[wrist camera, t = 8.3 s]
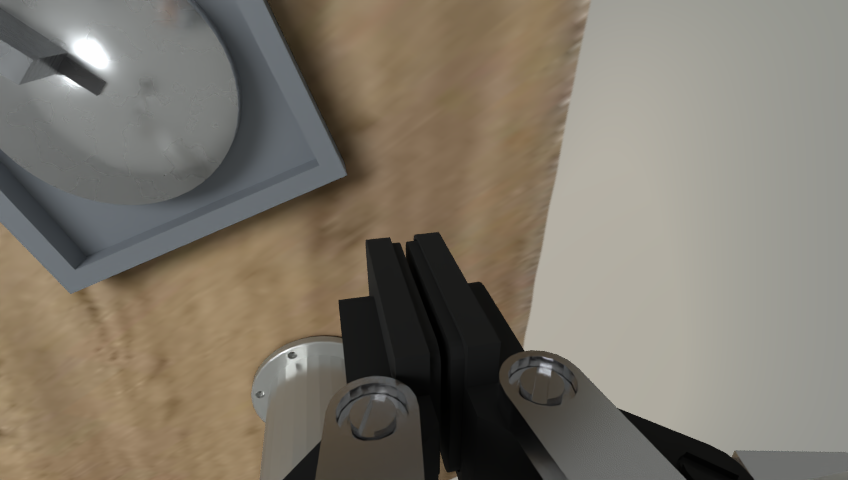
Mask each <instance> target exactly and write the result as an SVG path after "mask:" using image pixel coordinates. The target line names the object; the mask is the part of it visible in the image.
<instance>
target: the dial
mask: <svg viewBox="0 0 848 480" xmlns="http://www.w3.org/2000/svg"><path fill="white" fill-rule="evenodd" d="M241 108H242V97H241V86H240V80H239V75H238V72H237V68H236V65H235V62H234V59H233V57H232V55H231V52H230V50H229V48H228V45H227V44H226V42H225V40H224V38H223V37H222V35H221V33H220V32H219V30H218V29H217V27H216V26H215V24H214V23H213V22H212V20H211V19H210V18H209V16H208V15H207V14H206V13H205V12H204V11H203V10H202V9H201V7H200V6H199V5H198V4H197V3H196V2H195V1H194V0H0V149H1V150H2V151H3V152H4V153H5V154H7V155H8V156H9V157H10V158H11V159H12V160H13V161H15V162H16V163H17V164H18V165H20V166H21V167H22V168H24V169H25V170H27V171H28V172H29V173H31V174H32V175H34V176H36V177H37V178H39V179H41V180H43V181H44V182H46V183H48V184H50V185H52V186H54V187H56V188H58V189H60V190H63V191H65V192H67V193H70V194H73V195H76V196H79V197H82V198H85V199H89V200H93V201H97V202H103V203H110V204H118V205H141V204H151V203H156V202H161V201H165V200H169V199H172V198H175V197H178V196H180V195H182V194H184V193H186V192H188V191H190V190H192V189H193V188H195V187H197V186H198V185H200V184H201V183H202V182H204V181H205V180H206V179H207V178H208V177H209V176H210V175H212V174H213V172H214V171H215V170H216V169H217V168H218V166H219V165H220V164H221V162H222V161H223V159H224V158H225V156H226V154H227V153H228V151H229V149H230V147H231V145H232V143H233V141H234V138H235V136H236V134H237V131H238V127H239V123H240V118H241Z"/></svg>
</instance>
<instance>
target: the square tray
mask: <svg viewBox="0 0 848 480" xmlns="http://www.w3.org/2000/svg"><path fill="white" fill-rule="evenodd" d="M194 1H195V2H196V3H197V4H198V5H199V6H200V7H201V9H202V10H203V11H204V12H205V13H206V14H207V15H208V16H209V18H210V19H211V20H212V22H213V23H214V24H215V26H216V27H217V29H218V30H219V32H220V33H221V35H222V37H223V38H224V40H225V42H226V44H227V45H228V48H229V50H230V52H231V55H232V57H233V59H234V62H235V65H236V68H237V72H238V75H239V80H240V86H241V97H242V108H241V118H240V123H239V127H238V131H237V134H236V136H235V138H234V141H233V143H232V145H231V147H230V149H229V151H228V153H227V154H226V156H225V158H224V159H223V161H222V162H221V164H220V165H219V166H218V168H217V169H216V170H215V171H214V172H213V174H212V175H210V176H209V177H208V178H207V179H206V180H205V181H204V182H202V183H201V184H200V185H198V186H197V187H195V188H193V189H192V190H190V191H188V192H186V193H184V194H182V195H180V196H178V197H175V198H172V199H169V200H165V201H161V202H156V203H151V204H141V205H118V204H110V203H103V202H97V201H93V200H89V199H85V198H82V197H79V196H76V195H73V194H70V193H67V192H65V191H63V190H60V189H58V188H56V187H54V186H52V185H50V184H48V183H46V182H44V181H43V180H41V179H39V178H37V177H36V176H34V175H32V174H31V173H29V172H28V171H27V170H25V169H24V168H22V167H21V166H20V165H18V164H17V163H16V162H15V161H13V160H12V159H11V158H10V157H9V156H8V155H7V154H5V153H4V152H3V151H2V150H1V149H0V222H1V223H2V224H3V225H4V226H5V227H6V228H7V229H8V230H9V231H10V232H11V233H12V234H13V235H14V236H15V237H16V238H17V239H18V241H19V242H20V243H21V244H22V245H23V246H24V247H25V248H26V249H27V250H28V251H29V252H30V253H31V254H32V255H33V256H34V257H35V258H36V259H37V260H38V261H39V262H40V263H41V264H42V265H43V266H44V267H45V268H46V269H47V270H48V271H49V272H50V273H51V274H52V275H53V276H54V277H55V278H56V279H57V281H58V282H59V283H60V284H61V285H62V286H63V287H64V288H65V289H66V290H67V291H68V292H69V293H70V294H72V293H74V292H76V291H79V290H81V289H83V288H86V287H88V286H90V285H93V284H95V283H97V282H100V281H102V280H104V279H107V278H109V277H111V276H114V275H116V274H118V273H121V272H123V271H125V270H128V269H130V268H132V267H135V266H137V265H139V264H142V263H144V262H146V261H149V260H151V259H153V258H156V257H158V256H160V255H162V254H165V253H167V252H169V251H172V250H174V249H176V248H179V247H181V246H183V245H186V244H188V243H190V242H193V241H195V240H197V239H200V238H202V237H204V236H207V235H209V234H211V233H214V232H216V231H218V230H221V229H223V228H225V227H228V226H230V225H232V224H235V223H237V222H239V221H242V220H244V219H246V218H249V217H251V216H253V215H256V214H258V213H260V212H263V211H265V210H267V209H270V208H272V207H274V206H277V205H279V204H281V203H284V202H286V201H288V200H291V199H293V198H295V197H298V196H300V195H302V194H305V193H307V192H309V191H312V190H314V189H316V188H319V187H321V186H323V185H325V184H328V183H330V182H332V181H335V180H337V179H339V178H342V177H344V176H346V175H347V172H346V168H345V163H344V161H343V159H342V157H341V155H340V152H339V150H338V148H337V146H336V144H335V142H334V140H333V138H332V136H331V134H330V132H329V129H328V127H327V125H326V123H325V121H324V119H323V117H322V115H321V113H320V111H319V109H318V106H317V104H316V102H315V100H314V98H313V96H312V94H311V92H310V90H309V88H308V85H307V83H306V81H305V79H304V77H303V75H302V73H301V71H300V69H299V67H298V65H297V62H296V60H295V58H294V56H293V54H292V52H291V50H290V48H289V46H288V44H287V42H286V39H285V37H284V35H283V33H282V31H281V29H280V27H279V25H278V23H277V21H276V19H275V16H274V14H273V12H272V10H271V8H270V6H269V4H268V2H267V0H194Z"/></svg>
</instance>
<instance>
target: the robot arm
mask: <svg viewBox="0 0 848 480" xmlns="http://www.w3.org/2000/svg"><path fill="white" fill-rule="evenodd" d="M366 257H367V270H368V284H369V296H367V297H359V298H351V299H344V300H339V311H340V321H341V331H342V338H339V337H330V336H317V337H308V338H304V339H299V340H296V341H294V342H291V343H288V344H286V345H284V346H282V347H281V348H279V349H277V350H276V351H274V352H273V353H272V354H271V355H270V356H268V357H267V358H266V359H265V360H264V362H263V363H262V364H261V365H260V367H259V368H258V370H257V372H256V374H255V376H254V381H253V385H252V393H251V397H252V402H253V406H254V408H255V411H256V413H257V414H258V416H259V417H260V418H261V419H262V420H263V421H264V422H265V433H264V442H263V452H262V461H261V470H260V480H438V475H439V473H440V452H441V456H442V459H443V463H444V466H445V469H446V471H447V472H453V471H456V473H457V477H458V480H848V453H846V452H795V451H792V452H791V451H790V452H789V451H734V453H733V455H732V457H730V456H729V455H728V454H726V453H724V452H723V451H720V450H718V449H716V448H715V447H713V446H711V445H708V444H706V443H703V442H701V441H698V440H696V439H693V438H691V437H688V436H686V435H683V434H681V433H678V432H676V431H673V430H671V429H668V428H666V427H663V426H661V425H658V424H656V423H653V422H651V421H648V420H646V419H643V418H641V417H638V416H636V415H633V414H631V413H628V412H626V411H623V410H621V409H618V408H616V406H615V405H614V404H613V403H612V402H611V401H610V400H609V399H608V398H607V397H606V396H605V395H604V394H603V393H602V392H601V391H600V390H599V389H598V388H597V387H596V386H595V385H594V384H593V383H592V382H591V381H590V380H589V379H588V378H587V377H586V376H585V375H584V373H583V372H581V370H580V369H579V368H577V367H576V366H575V365H574V364H572V363H571V362H570V361H568V360H567V359H565V358H563V357H561V356H559V355H557V354H553V353H549V352H545V351H533V350H530V351H524V349H523V348H522V346H521V345H520V343H519V341H518V340H517V338H516V337H515V335H514V333H513V332H512V330H511V328H510V327H509V325H508V324H507V322H506V320H505V319H504V317H503V316H502V314H501V312H500V311H499V309H498V307H497V306H496V304H495V303H494V301H493V299H492V298H491V296H490V295H489V293H488V291H487V290H486V288H485V286H484V285H483V284H482V283H481V282H474V283H467V281H466V279H465V278H464V276H463V274H462V272H461V270H460V269H459V267H458V265H457V263H456V262H455V260H454V258H453V256H452V255H451V253H450V251H449V249H448V248H447V246H446V244H445V242H444V240H443V239H442V237H441V235H440V234H439V232H436V233H426V234H417V235H414V241H409V242H406V257H405V255H404V252H403V250H402V247H401V244H400V243H392V242H391V239H390V237H389V238H379V239H370V240H366Z"/></svg>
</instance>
